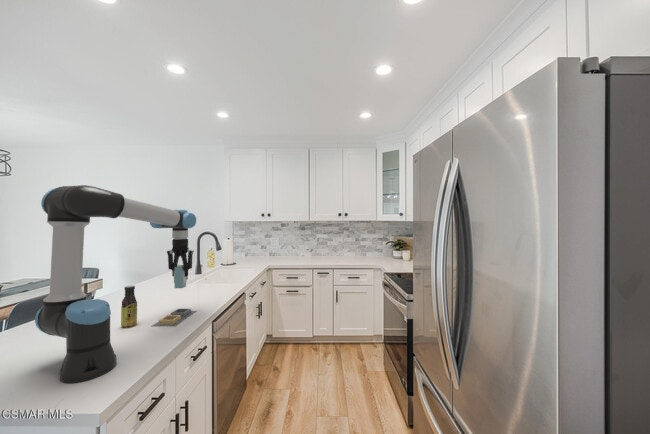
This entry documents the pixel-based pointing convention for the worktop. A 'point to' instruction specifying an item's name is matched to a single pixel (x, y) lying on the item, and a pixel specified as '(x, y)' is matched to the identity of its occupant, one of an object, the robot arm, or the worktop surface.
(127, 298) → the sauce bottle
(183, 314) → the socket board
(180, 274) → the plug
